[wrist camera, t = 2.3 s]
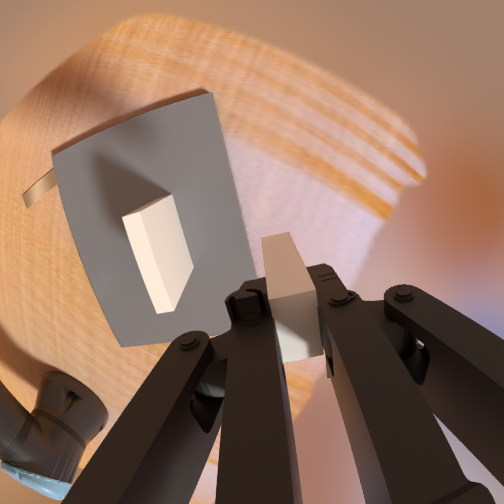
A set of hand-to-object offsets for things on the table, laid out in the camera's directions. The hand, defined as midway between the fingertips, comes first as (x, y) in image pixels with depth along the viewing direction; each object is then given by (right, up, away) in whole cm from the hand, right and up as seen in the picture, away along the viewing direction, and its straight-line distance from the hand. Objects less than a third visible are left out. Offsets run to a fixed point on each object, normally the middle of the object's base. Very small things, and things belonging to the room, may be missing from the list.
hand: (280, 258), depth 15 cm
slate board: (-12, +2, +14) cm, 19 cm away
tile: (-9, +2, +13) cm, 16 cm away
